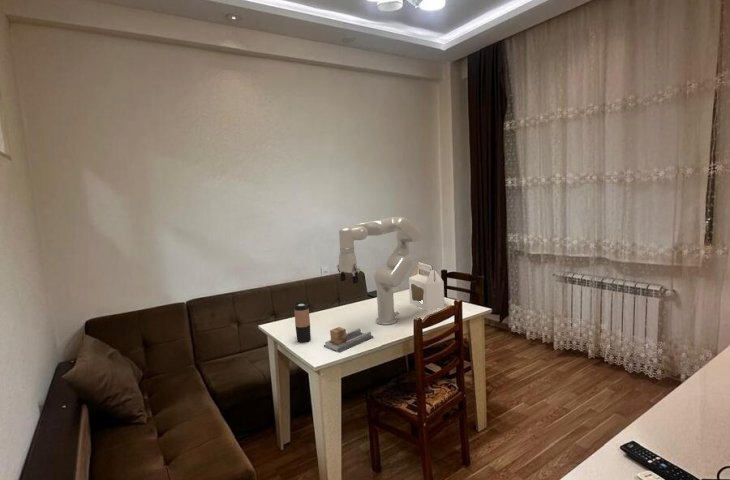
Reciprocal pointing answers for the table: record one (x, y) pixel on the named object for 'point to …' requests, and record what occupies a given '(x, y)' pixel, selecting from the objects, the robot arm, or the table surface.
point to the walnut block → (338, 335)
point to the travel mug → (302, 322)
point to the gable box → (426, 288)
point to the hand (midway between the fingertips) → (349, 282)
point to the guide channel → (349, 340)
